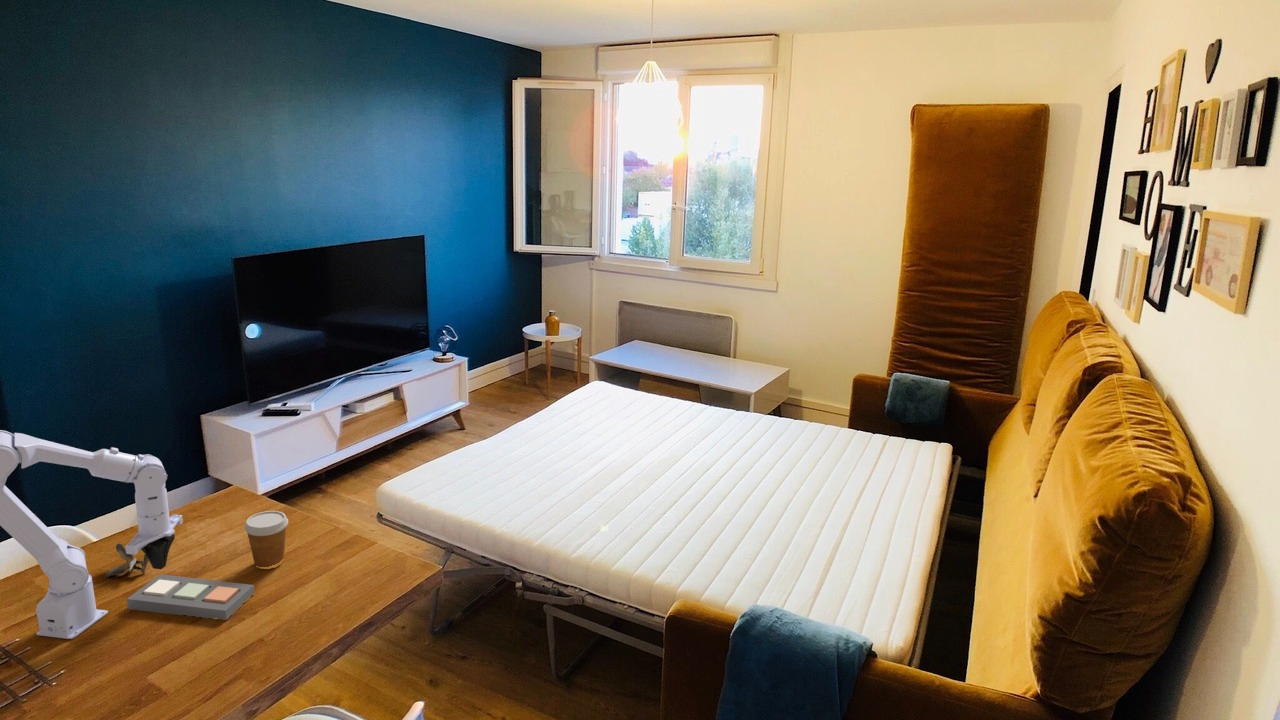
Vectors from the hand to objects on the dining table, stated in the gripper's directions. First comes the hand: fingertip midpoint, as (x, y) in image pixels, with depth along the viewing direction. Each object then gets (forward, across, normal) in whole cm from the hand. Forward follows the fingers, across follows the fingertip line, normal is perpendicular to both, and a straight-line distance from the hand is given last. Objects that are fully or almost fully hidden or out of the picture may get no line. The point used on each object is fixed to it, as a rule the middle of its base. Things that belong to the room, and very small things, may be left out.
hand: (159, 567), depth 162 cm
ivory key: (+7, 0, 0) cm, 7 cm away
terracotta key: (+7, 0, -14) cm, 16 cm away
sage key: (+7, 0, -7) cm, 10 cm away
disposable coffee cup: (+8, +18, -14) cm, 24 cm away
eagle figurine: (+8, +8, +15) cm, 19 cm away
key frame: (+8, 0, -7) cm, 11 cm away
